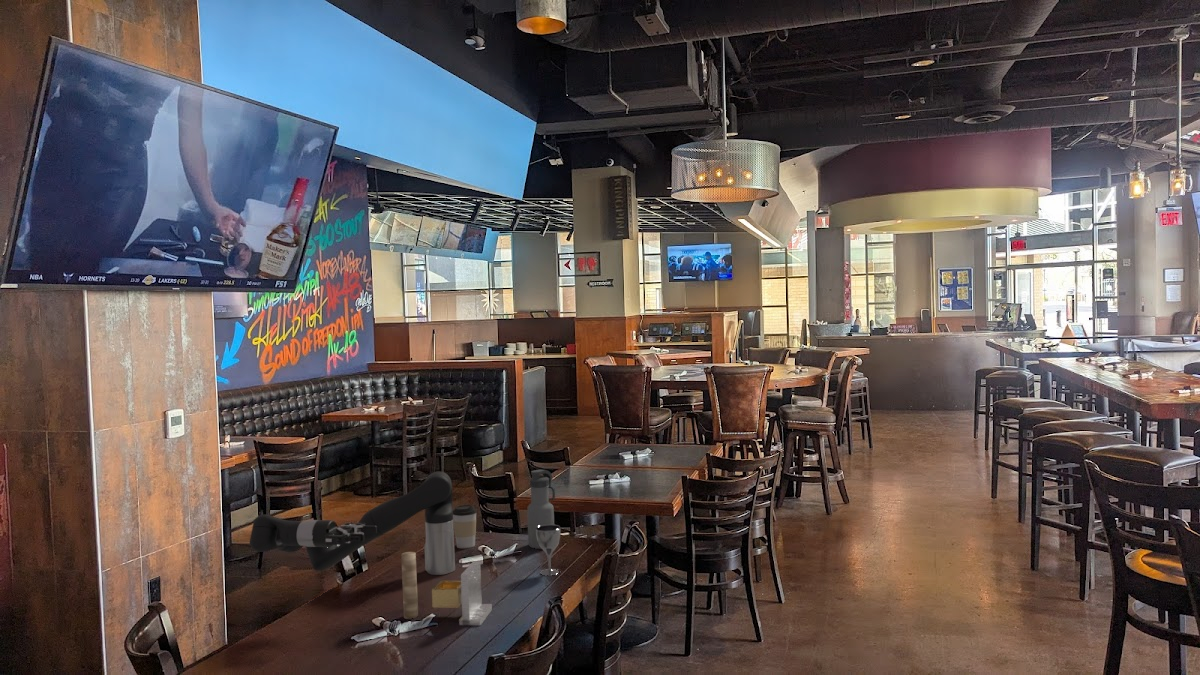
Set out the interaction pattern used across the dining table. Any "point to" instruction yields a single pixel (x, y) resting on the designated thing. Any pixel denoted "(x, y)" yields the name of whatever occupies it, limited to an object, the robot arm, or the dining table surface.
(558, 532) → the wine glass
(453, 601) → the cup bracket
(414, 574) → the rail post
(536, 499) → the water bottle
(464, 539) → the coffee cup
